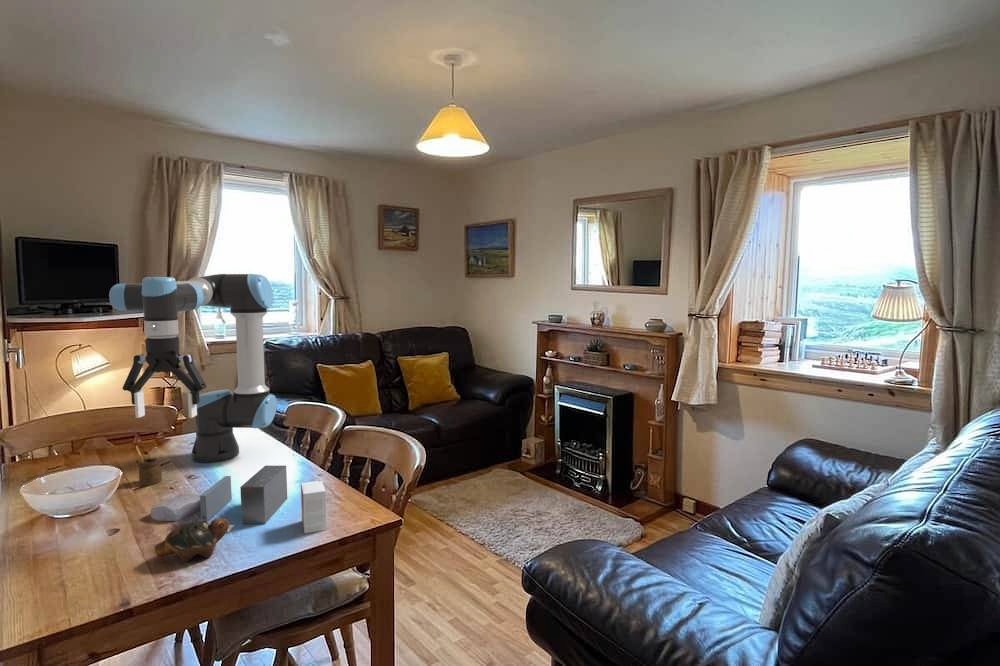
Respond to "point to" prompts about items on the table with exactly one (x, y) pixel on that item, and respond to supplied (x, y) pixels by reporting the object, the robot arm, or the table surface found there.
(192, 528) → the decorative turtle
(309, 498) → the small box
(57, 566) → the table surface
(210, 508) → the gauge plate
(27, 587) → the table surface
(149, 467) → the utensil holder
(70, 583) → the table surface
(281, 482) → the dark gray block
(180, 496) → the stone block
